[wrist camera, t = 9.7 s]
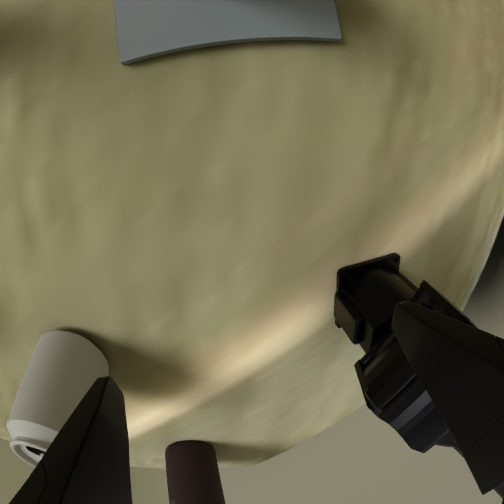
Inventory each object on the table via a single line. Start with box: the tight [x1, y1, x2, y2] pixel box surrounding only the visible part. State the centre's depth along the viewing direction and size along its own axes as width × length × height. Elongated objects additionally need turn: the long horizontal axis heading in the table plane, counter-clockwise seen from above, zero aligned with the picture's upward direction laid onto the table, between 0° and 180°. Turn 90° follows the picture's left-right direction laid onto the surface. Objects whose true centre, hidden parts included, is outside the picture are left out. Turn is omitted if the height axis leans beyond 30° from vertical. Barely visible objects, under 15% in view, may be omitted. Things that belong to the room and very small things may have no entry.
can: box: [7, 330, 109, 467], centre depth 17 cm, size 8×8×12 cm
